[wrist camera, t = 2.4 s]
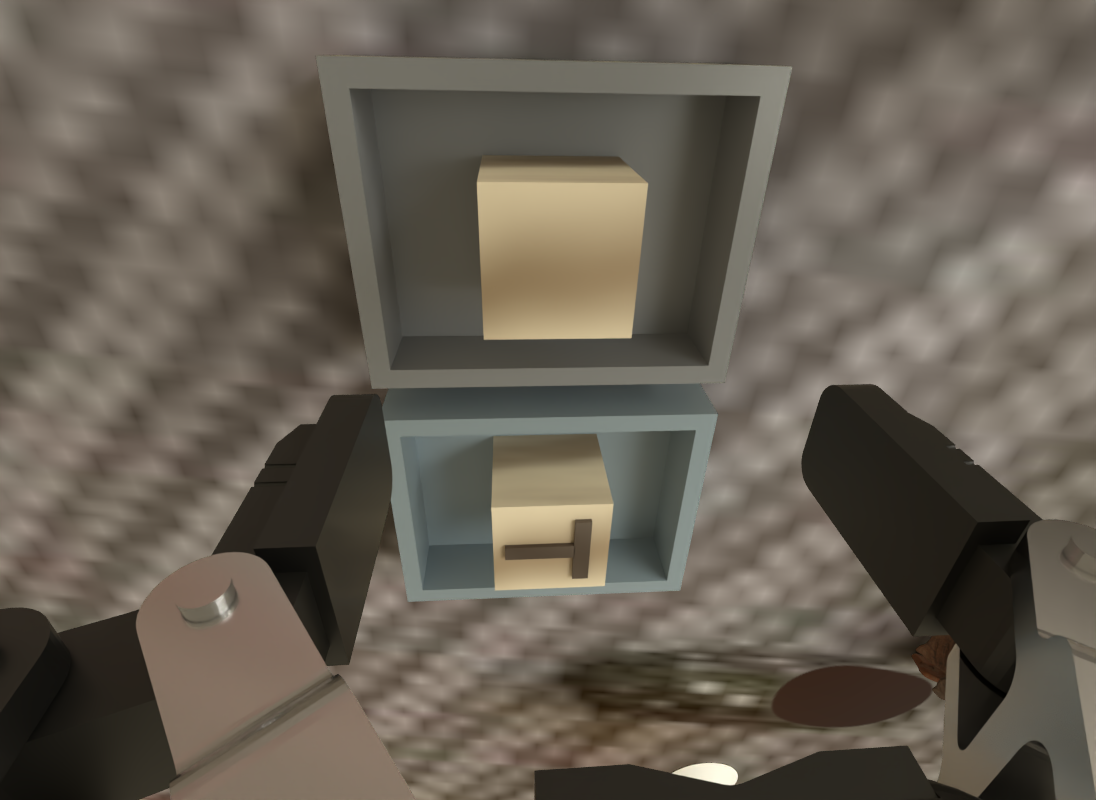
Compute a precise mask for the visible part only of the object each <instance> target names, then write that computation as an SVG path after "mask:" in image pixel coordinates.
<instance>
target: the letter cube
mask: <svg viewBox="0 0 1096 800" xmlns="http://www.w3.org/2000/svg"><path fill="white" fill-rule="evenodd" d="M491 512H492V534H493V556H494V579H495V590H520V589H545V588H569V587H594V586H605V578H606V569H607V560H608V550H609V541H610V532H611V523H612V513H613V500H612V496H611V491H610V487H609V483H608V479H607V475H606V471H605V467H604V462H603V458H602V454H601V450H600V446H599V442H598V438H597V434H561V435H516V436H493V468H492V502H491Z"/></svg>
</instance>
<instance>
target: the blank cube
mask: <svg viewBox="0 0 1096 800" xmlns="http://www.w3.org/2000/svg"><path fill="white" fill-rule="evenodd" d="M647 190H648V183H647V182H646V181H645V180H644V179H643V178H642V177H641V176H639V175H638V174H637V173H636V172H635V171H634V170H633V169H632V168H631V167H630V166H628V165H627V164H626V163H625V162H624V161H623V160H622V159H621V158H620V157H608V156H518V155H482V160H481V165H480V169H479V174H478V179H477V199H478V221H479V243H480V266H481V288H482V310H483V333H484V340H505V339H600V338H632V328H633V319H634V310H635V301H636V291H637V282H638V273H639V264H640V254H641V245H642V236H643V227H644V217H645V208H646V199H647Z"/></svg>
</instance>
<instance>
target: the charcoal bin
mask: <svg viewBox="0 0 1096 800" xmlns="http://www.w3.org/2000/svg"><path fill="white" fill-rule="evenodd" d="M316 62H317V67H318V73H319V79H320V85H321V91H322V97H323V103H324V109H325V115H326V121H327V127H328V132H329V138H330V144H331V150H332V156H333V162H334V168H335V174H336V180H337V186H338V191H339V197H340V203H341V209H342V215H343V221H344V227H345V233H346V239H347V245H348V250H349V256H350V262H351V268H352V274H353V280H354V286H355V292H356V298H357V304H358V310H359V315H360V321H361V327H362V333H363V339H364V345H365V351H366V357H367V363H368V369H369V374H370V380H371V386H372V389H386V388H447V387H509V386H571V385H633V384H695V383H725V379H726V374H727V369H728V365H729V360H730V355H731V351H732V346H733V341H734V337H735V332H736V327H737V323H738V318H739V313H740V309H741V304H742V299H743V295H744V290H745V285H746V281H747V276H748V271H749V267H750V262H751V257H752V253H753V248H754V243H755V239H756V234H757V229H758V225H759V220H760V215H761V211H762V206H763V202H764V197H765V192H766V188H767V183H768V178H769V174H770V169H771V164H772V160H773V155H774V150H775V146H776V141H777V136H778V132H779V127H780V122H781V118H782V113H783V108H784V104H785V99H786V94H787V90H788V85H789V80H790V76H791V71H792V66H774V65H753V64H713V63H669V62H624V61H580V60H536V59H491V58H447V57H403V56H358V55H326V56H316ZM482 155H518V156H608V157H620V158H621V159H622V160H623V161H624V162H625V163H626V164H627V165H628V166H630V167H631V168H632V169H633V170H634V171H635V172H636V173H637V174H638V175H639V176H641V177H642V178H643V179H644V180H645V181H646V182H647V183H648V190H647V199H646V208H645V217H644V227H643V236H642V245H641V254H640V264H639V273H638V282H637V291H636V301H635V310H634V319H633V328H632V338H600V339H505V340H484V333H483V310H482V288H481V266H480V243H479V221H478V199H477V179H478V174H479V169H480V165H481V160H482Z"/></svg>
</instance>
